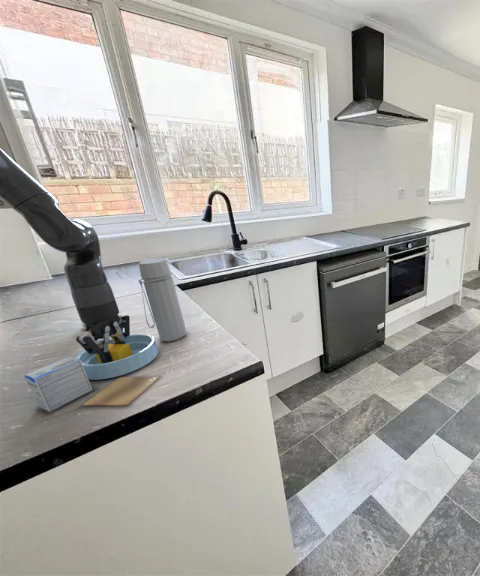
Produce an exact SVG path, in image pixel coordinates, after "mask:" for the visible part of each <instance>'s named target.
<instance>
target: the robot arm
mask: <svg viewBox="0 0 480 576" xmlns="http://www.w3.org/2000/svg"><path fill="white" fill-rule="evenodd" d="M0 200H1V201H3V202H4V203H5V204H6V205H8V206H9V207H10V208H11V209H13V211H15V212H16V213H18V214H19V215H20V216H21V217H22V218H23V219H24V220H25V222H26V223H27V224H28V225H29V227H30V228H31V229H32V231H34V233H35V234H36V235H37V236H38V237H39V238H40V239H41V240H42V241H43V242H44V243H45V244H47V246H49V247H50V248H52V249H54V250H56V251H59V252H62V253H65V257H66V262H65V263H64V265H63V272H64V276H65V278H66V280H67V283H68V286H69V290H70V289H71V290H70V294H71V298H72V300H73V301H72V302H73V304H74V306H75V308H76V311H77V314H78V316H79V318H80V322H81V323H82V322H83V323H85V325H86V329H85V332H84V333H83V334H82V335H80V336H79V335H77V336H76V337H75V341H76V342H77V343H78V344H79V345H80V347H82V349H83V350H86V351H87V352H88V353H89V354H99V357H100V359H101V362H102V363H109V362H113V359H112V356H111V354H110V351H108V350H109V348H108V343H109V342H110V339H112V340H113V341H114V342H115V343H114V344H125V338H126V337H128V336H129V335H131V326H130V325H131V324H130V320H131V319H130V315H129V314H128V315H127V314H125V315H124V314H123V315H120V309H119V306H118V304H117V301H116V297H115V294H114V290H113V288H112V286H111V285H110V283H109V281H108V277H107V274H106V270H105V268H104V266H103V263H102V252H101V245H100V239H99V236H98V233H97V231H96V229H95V228H94V227H93V225H91V224H90V223H88V222H86V221H85V220H82V219H76V218H73V219H72V218H71V219H70V218H68V217H67V216H66V215H65V213H64V212H63V211H62V210H61V209H60V208H59V206H60V203H59V201H58V199H56V197H55V196H54V195H53V194H51V192H50V191H48V189H46V188H45V187H44V186H43V185H41V184H40V182H39V181H37V180H36V179H35V178H34V177H33V176H32V175H30V174H29V173H28V172H27V171H26V170H25V169H24V168H22V167H21V166H20V165H19V164H18V163H17V162H16V161H14V160H13V159H12V158H11V157H10V156H9V155H8V154H7V153H6V152H5V151H4V150H2V148H0ZM101 344H102V348H101Z"/></svg>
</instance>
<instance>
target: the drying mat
mask: <svg viewBox="0 0 480 576" xmlns="http://www.w3.org/2000/svg"><path fill="white" fill-rule="evenodd" d="M159 379H160V378H159V376H127V377H125V376H123V377H121V376H118V378H116V379H115V380H113V381H112V382H111V383H110V384H108V385H107V386H105V387H104V388H103V389H101V390H100V391H99V392H98V393H96V394H95V395H93V396H92V397H91V398H89V399H88V400H87V401H86V402H84V403H82V407H128V406H129V405H130V404H131V403H132V402H133V401H135V400H136V399H138V397H139V396H141V395H142V394H143V393H144V392H145V391H146V390H147V389H149V387H151V386H152V385H153V384H154V383H155V382H156V381H158V380H159Z"/></svg>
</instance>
